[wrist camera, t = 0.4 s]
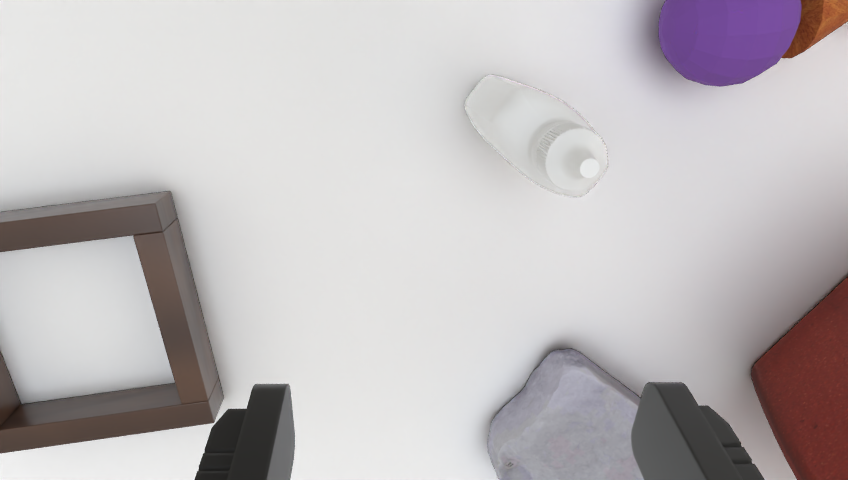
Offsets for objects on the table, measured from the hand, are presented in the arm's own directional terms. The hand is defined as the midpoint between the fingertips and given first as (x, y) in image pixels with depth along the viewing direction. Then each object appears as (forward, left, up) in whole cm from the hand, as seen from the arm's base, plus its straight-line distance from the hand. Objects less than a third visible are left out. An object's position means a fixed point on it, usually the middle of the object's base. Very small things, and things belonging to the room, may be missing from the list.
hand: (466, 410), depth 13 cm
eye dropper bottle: (-3, +6, -21) cm, 22 cm away
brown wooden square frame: (+5, -19, -21) cm, 28 cm away
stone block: (+18, +9, -21) cm, 29 cm away
